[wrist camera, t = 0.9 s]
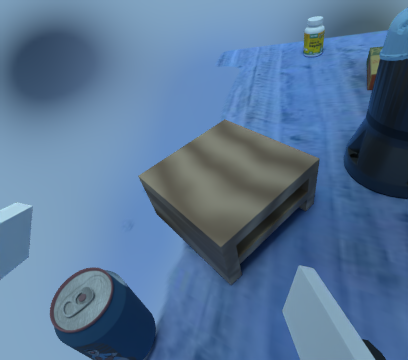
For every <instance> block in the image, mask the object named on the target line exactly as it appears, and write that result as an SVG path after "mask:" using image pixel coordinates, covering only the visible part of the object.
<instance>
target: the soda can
mask: <svg viewBox="0 0 408 360" xmlns="http://www.w3.org/2000/svg"><path fill="white" fill-rule="evenodd" d="M50 318H51V321H52V323H53V325H54V328H55V332H56V334H57V336H58V338H59V339H60V340H61V341H62V342H63V343H65V344H66V345H68V346H70V347H72V348H73V349H75V350H77V351H79V352H80V353H82V354H84V355H86V356H88V357H89V358H91V359H93V360H143V359H144V358H145V357H146V355H147V354H148V353H149V351H150V349H151V347H152V345H153V342H154V338H155V332H156V327H155V321H154V318H153V316H152V314H151V313H150V311H149V310H148V309H147V308H146V307H145V305H144V304H143V303H142V302H141V301H140V300H139V298H138V297H137V296H136V295H135V294H134V293H133V291H132V290H131V289H130V288H129V287H128V285H127V284H126V283H125V282H124V281H123V280H122V278H121V277H120V276H119V275H117V274H116V273H114V272H111V271H106V270H103V269H100V268H86V269H83V270H80V271H79V272H77V273H75V274H74V275H72V276H71V277H70V278H68V279H67V280H66V281H65V282H64V283H63V284H62V285H61V286H60V288H59V289H58V291H57V292H56V294H55V296H54V298H53V300H52V303H51V307H50Z"/></svg>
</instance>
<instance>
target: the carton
mask: <svg viewBox="0 0 408 360" xmlns="http://www.w3.org/2000/svg"><path fill="white" fill-rule="evenodd" d="M382 48H383V47H373V48H370V51H369V55H368V58H367V90H373V86H374V82H375V78H376V73H377V69H378V65H379V61H380V56H379V54H380V51H381V50H382Z"/></svg>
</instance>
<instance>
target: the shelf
mask: <svg viewBox="0 0 408 360" xmlns="http://www.w3.org/2000/svg"><path fill="white" fill-rule="evenodd" d="M318 166H319V158H317V157H314V156H312V155H310V154H307V153H305V152H302V151H300V150H298V149H295V148H293V147H290V146H288V145H285V144H283V143H281V142H278V141H276V140H273V139H271V138H268V137H266V136H264V135H261V134H259V133H256V132H254V131H252V130H249V129H247V128H244V127H242V126H239V125H237V124H235V123H232V122H230V121H227V120H223V121H222V122H220V123H219V124H217V125H216V126H214V127H213V128H211V129H209V130H208V131H206V132H205V133H204V134H202V135H200V136H199V137H197V138H196V139H194V140H193V141H192V142H190V143H188V144H187V145H185V146H183V147H182V148H180V149H179V150H177V151H176V152H174V153H173V154H171V155H170V156H168V157H167V158H165V159H164V160H162V161H161V162H159V163H157V164H156V165H154V166H153V167H151V168H150V169H148V170H147V171H145V172H144V173H142V174H141V175H139V178H140V181H141V183H142V185H143V187H144V189H145V191H146V193H147V195H148V197H149V199H150V201H151V203H152V205H153V207H154V209H155V211H156V213H157V215H158V216H159V217H160V218H161V219H163V220H164V221H165V222H166V223H167V224H168V225H169V226H170V227H171V228H172V229H173V230H174V231H175V232H176V233H177V234H178V235H179V236H180V237H181V238H182V239H183V240H184V241H185V242H186V243H187V244H188V245H190V246H191V247H192V248H193V249H194V250H195V251H196V252H197V253H198V254H199V255H200V256H201V257H202V258H203V259H204V260H205V261H206V262H207V263H208V264H209V265H210V266H211V267H212V268H213V269H214V270H216V271H217V272H218V273H219V274H220V275H221V276H222V277H223V278H224V279H225V280H226V281H227V282H228V283H229V284H230V285H232V284H233V283H234V282H235V281H236V280H237V279H238V278H239V277H240V276H241V275H242V273H241V268H240V264H241V263H242V262H243V261H244V260H245V259H246V258H247V257H248V256H249V255H250V254H251V253H252V252H253V251H254V250H255V249H256V248H257V247H258V246H259V245H260V244H261V243H262V242H263V241H264V240H265V239H266V238H268V237H269V236H270V235H271V234H272V233H273V232H274V231H275V230H276V229H277V228H278V227H279V226H280V225H281V224H282V223H283V222H284V221H285V220H286V219H287V218H288V217H289V216H290V215H291V214H292V213H293V212H294V211H295V210H296V209H297V208H301V209H303V210H304V211H307V210H308V209H309V208H310V207H311V206H312V205H313V204H314V197H315V189H316V182H317V174H318Z"/></svg>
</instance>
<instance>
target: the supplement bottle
mask: <svg viewBox="0 0 408 360" xmlns="http://www.w3.org/2000/svg"><path fill="white" fill-rule="evenodd" d="M322 22H323V17H320V16H318V17H311V18H309V19H308V22H307V24H308V27H307V28H306V29H305V33H304V55H305V56H306V57H316V56H319V55H320V54H322V51H323V41H324V31H325V28H324V26H323V25H321V24H322Z"/></svg>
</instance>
